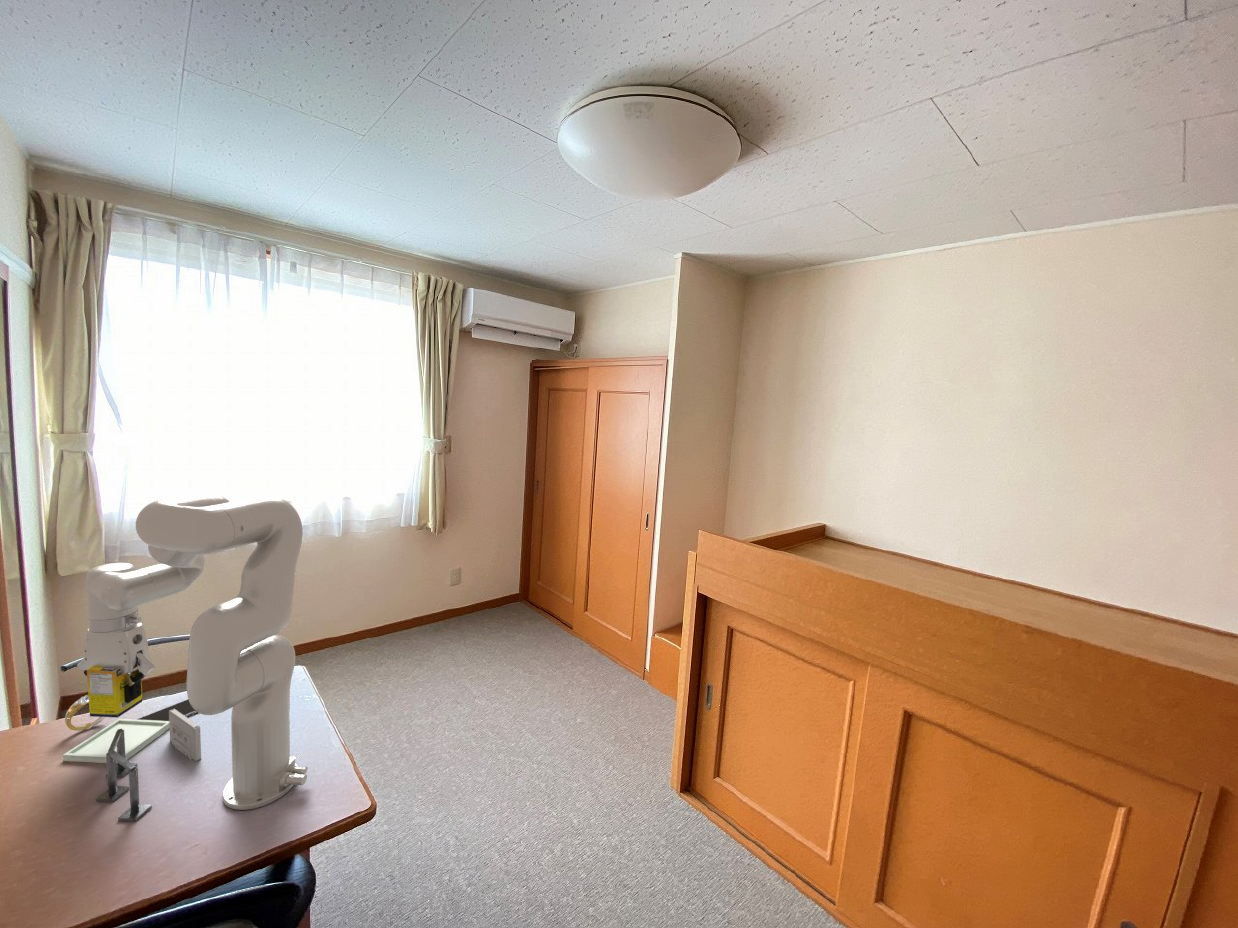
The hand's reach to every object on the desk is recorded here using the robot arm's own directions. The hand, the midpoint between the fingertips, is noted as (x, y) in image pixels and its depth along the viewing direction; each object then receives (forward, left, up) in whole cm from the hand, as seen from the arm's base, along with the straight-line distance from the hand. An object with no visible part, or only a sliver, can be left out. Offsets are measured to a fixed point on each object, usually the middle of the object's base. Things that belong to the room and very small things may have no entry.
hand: (117, 697), depth 108 cm
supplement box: (0, 0, -3) cm, 3 cm away
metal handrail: (-14, +13, -11) cm, 22 cm away
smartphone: (-3, -10, -12) cm, 15 cm away
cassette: (-15, +1, -11) cm, 19 cm away
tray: (0, 0, -11) cm, 11 cm away
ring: (+11, -4, -11) cm, 16 cm away
